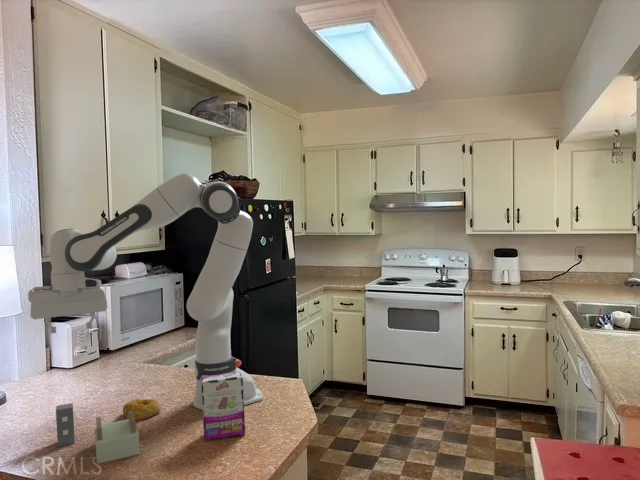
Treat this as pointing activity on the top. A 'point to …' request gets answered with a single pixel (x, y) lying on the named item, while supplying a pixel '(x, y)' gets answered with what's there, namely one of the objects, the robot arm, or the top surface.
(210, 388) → the candy bar box
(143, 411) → the bagel
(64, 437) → the tall grey pillar
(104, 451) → the bracket shelf
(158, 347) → the top surface
